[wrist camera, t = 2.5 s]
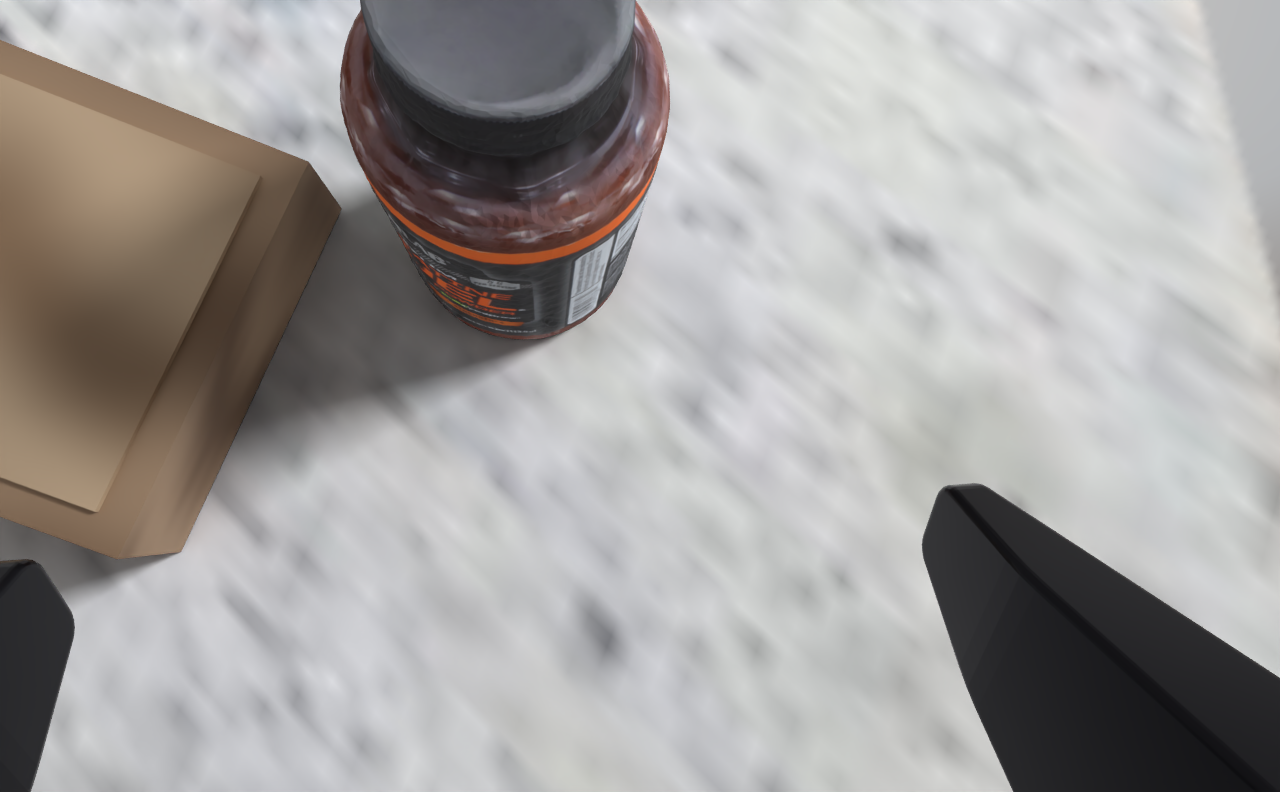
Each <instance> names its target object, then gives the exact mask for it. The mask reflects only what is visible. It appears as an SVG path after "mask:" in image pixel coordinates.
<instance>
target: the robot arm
mask: <svg viewBox="0 0 1280 792" xmlns="http://www.w3.org/2000/svg"><path fill="white" fill-rule="evenodd" d="M922 552H923V558H924V561H925V564H926V567H927V570H928V574H929V577H930V580H931V583H932V586H933V589H934V592H935V595H936V598H937V601H938V604H939V607H940V610H941V613H942V616H943V619H944V622H945V625H946V628H947V631H948V634H949V637H950V640H951V643H952V646H953V649H954V652H955V656H956V659H957V662H958V665H959V668H960V670H961V673H962V676H963V679H964V681H965V684H966V687H967V689H968V692H969V694H970V696H971V699H972V701H973V704H974V706H975V708H976V711H977V713H978V715H979V717H980V719H981V722H982V724H983V726H984V728H985V730H986V733H987V735H988V737H989V739H990V741H991V744H992V746H993V748H994V750H995V753H996V755H997V757H998V759H999V761H1000V764H1001V766H1002V768H1003V770H1004V772H1005V775H1006V777H1007V779H1008V781H1009V783H1010V786H1011V788H1012V790H1013V792H1280V678H1279V677H1278V676H1276V675H1275V674H1273V673H1272V672H1270V671H1269V670H1267V669H1265V668H1264V667H1262V666H1261V665H1259V664H1258V663H1256V662H1255V661H1253V660H1252V659H1250V658H1249V657H1247V656H1246V655H1244V654H1242V653H1241V652H1239V651H1238V650H1236V649H1235V648H1233V647H1232V646H1230V645H1229V644H1227V643H1226V642H1224V641H1223V640H1221V639H1219V638H1218V637H1216V636H1215V635H1213V634H1212V633H1210V632H1209V631H1207V630H1206V629H1204V628H1203V627H1201V626H1200V625H1198V624H1196V623H1195V622H1193V621H1192V620H1190V619H1189V618H1187V617H1186V616H1184V615H1183V614H1181V613H1180V612H1178V611H1177V610H1175V609H1174V608H1172V607H1170V606H1169V605H1167V604H1166V603H1164V602H1163V601H1161V600H1160V599H1158V598H1157V597H1155V596H1154V595H1152V594H1151V593H1149V592H1147V591H1146V590H1144V589H1143V588H1141V587H1140V586H1138V585H1137V584H1135V583H1134V582H1132V581H1131V580H1129V579H1128V578H1126V577H1124V576H1123V575H1121V574H1120V573H1118V572H1117V571H1115V570H1114V569H1112V568H1111V567H1109V566H1108V565H1106V564H1105V563H1103V562H1101V561H1100V560H1098V559H1097V558H1095V557H1094V556H1092V555H1091V554H1089V553H1088V552H1086V551H1085V550H1083V549H1082V548H1080V547H1079V546H1077V545H1075V544H1074V543H1072V542H1071V541H1069V540H1068V539H1066V538H1065V537H1063V536H1062V535H1060V534H1059V533H1057V532H1056V531H1054V530H1052V529H1051V528H1049V527H1048V526H1046V525H1045V524H1043V523H1042V522H1040V521H1039V520H1037V519H1036V518H1034V517H1033V516H1031V515H1029V514H1028V513H1026V512H1025V511H1023V510H1022V509H1020V508H1019V507H1017V506H1016V505H1014V504H1013V503H1011V502H1010V501H1008V500H1006V499H1005V498H1003V497H1002V496H1000V495H999V494H997V493H996V492H994V491H993V490H991V489H990V488H988V487H986V486H984V485H982V484H977V483H972V484H959V485H948V486H945V487H943V488H942V489H941V490H940V491H939V493H938V495H937V497H936V500H935V503H934V506H933V509H932V512H931V515H930V518H929V521H928V524H927V527H926V529H925V532H924V535H923V541H922ZM74 629H75V626H74V619H73V615H72V612H71V610H70V608H69V607H68V605H67V604H66V602H65V601H64V599H63V598H62V596H61V595H60V593H59V591H58V590H57V588H56V587H55V585H54V584H53V582H52V581H51V579H50V578H49V576H48V575H47V573H46V571H45V570H44V568H43V567H42V566H41V565H40V564H38V563H36V562H35V561H33V560H28V559H22V560H10V561H0V792H31V789H32V786H33V783H34V780H35V777H36V773H37V770H38V767H39V763H40V760H41V756H42V752H43V748H44V745H45V741H46V737H47V734H48V730H49V726H50V723H51V719H52V715H53V712H54V708H55V704H56V701H57V697H58V693H59V690H60V686H61V682H62V679H63V675H64V671H65V668H66V664H67V660H68V657H69V653H70V649H71V646H72V642H73V638H74Z"/></svg>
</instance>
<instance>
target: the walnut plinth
mask: <svg viewBox="0 0 1280 792" xmlns="http://www.w3.org/2000/svg"><path fill="white" fill-rule="evenodd" d="M341 209H342V208H341V207H340V206H339V204H338V203H337V201H336V200H335V198H334V197H333V196H332V194H331V193H330V191H329V190H328V188H327V187H326V186H325V184H324V183H323V181H322V180H321V179H320V177H319V176H318V174H317V173H316V171H315V170H314V169H313V167H312V166H311V164H310V163H309V162H308V161H305V160H303V159H300V158H298V157H295V156H293V155H290V154H288V153H285V152H282V151H280V150H277V149H275V148H272V147H270V146H267V145H265V144H262V143H260V142H257V141H255V140H252V139H250V138H247V137H244V136H242V135H239V134H237V133H234V132H232V131H229V130H227V129H224V128H222V127H219V126H217V125H214V124H212V123H209V122H206V121H204V120H201V119H199V118H196V117H194V116H191V115H189V114H186V113H184V112H181V111H179V110H176V109H174V108H171V107H168V106H166V105H163V104H161V103H158V102H156V101H153V100H151V99H148V98H146V97H143V96H141V95H138V94H136V93H133V92H130V91H128V90H125V89H123V88H120V87H118V86H115V85H113V84H110V83H108V82H105V81H103V80H100V79H97V78H95V77H92V76H90V75H87V74H85V73H82V72H80V71H77V70H75V69H72V68H70V67H67V66H65V65H62V64H59V63H57V62H54V61H52V60H49V59H47V58H44V57H42V56H39V55H37V54H34V53H32V52H29V51H27V50H24V49H21V48H19V47H16V46H14V45H11V44H9V43H6V42H4V41H1V40H0V517H2V518H5V519H8V520H10V521H13V522H16V523H19V524H21V525H24V526H27V527H30V528H32V529H35V530H38V531H41V532H43V533H46V534H49V535H52V536H54V537H57V538H60V539H63V540H65V541H68V542H71V543H74V544H76V545H79V546H82V547H85V548H87V549H90V550H93V551H96V552H98V553H101V554H104V555H107V556H109V557H112V558H115V559H124V558H133V557H141V556H150V555H159V554H168V553H176V552H181V551H182V549H183V546H184V544H185V542H186V540H187V538H188V536H189V534H190V532H191V529H192V527H193V525H194V523H195V521H196V519H197V517H198V514H199V512H200V510H201V508H202V506H203V504H204V502H205V500H206V497H207V495H208V493H209V491H210V489H211V487H212V485H213V482H214V480H215V478H216V476H217V474H218V472H219V470H220V468H221V465H222V463H223V461H224V459H225V457H226V455H227V453H228V450H229V448H230V446H231V444H232V442H233V440H234V438H235V436H236V433H237V431H238V429H239V427H240V425H241V423H242V421H243V418H244V416H245V414H246V412H247V410H248V408H249V406H250V403H251V401H252V399H253V397H254V395H255V393H256V391H257V389H258V386H259V384H260V382H261V380H262V378H263V376H264V374H265V371H266V369H267V367H268V365H269V363H270V361H271V359H272V357H273V354H274V352H275V350H276V348H277V346H278V344H279V342H280V339H281V337H282V335H283V333H284V331H285V329H286V327H287V325H288V322H289V320H290V318H291V316H292V314H293V312H294V310H295V307H296V305H297V303H298V301H299V299H300V297H301V295H302V293H303V290H304V288H305V286H306V284H307V282H308V280H309V278H310V275H311V273H312V271H313V269H314V267H315V265H316V263H317V261H318V258H319V256H320V254H321V252H322V250H323V248H324V246H325V243H326V241H327V239H328V237H329V235H330V233H331V231H332V229H333V226H334V224H335V222H336V220H337V218H338V216H339V214H340V211H341Z"/></svg>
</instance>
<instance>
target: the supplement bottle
mask: <svg viewBox="0 0 1280 792" xmlns="http://www.w3.org/2000/svg"><path fill="white" fill-rule="evenodd" d="M360 3H361V11H360V13H359V14H358V16H357V17H356V19H355V21H354V23H353V26H352V28H351V30H350V32H349V35H348V38H347V41H346V45H345V49H344V55H343V60H342V67H341V74H340V77H341V81H340V102H341V108H342V114H343V117H344V123H345V126H346V128H347V132H348V135H349V138H350V142H351V145H352V147H353V150H354V153H355V155H356V157H357V159H358V162H359V164H360V166H361V167H362V169H363V171H364V173H365V175H366V178H367V180H368V181H369V183H370V185H371V187H372V190H373V192H374V193H375V194H376V196H377V198H378V199H379V202H380V203H381V205H382V207H383V208H384V210H385V212H386V213H387V215H388V217H389V219H390V221H391V223H392V225H393V226H394V228H395V230H396V232H397V234H398V235H399V237H400V238H401V240H402V242H403V244H404V246H405V248H406V250H407V251H408V253H409V255H410V258H411V260H412V262H413V263H414V265H415V266H416V268H417V270H418V272H419V274H420V276H421V277H422V279H423V280H424V282H425V284H426V285H427V287H428V288H429V289H430V291H431V292H432V293H433V295H434V296H435V297H436V298H437V299H438V300H439V301H440V303H442V304H443V306H444V307H445V308H446V309H447V310H448V311H449V312H451V313H452V314H453V315H454V316H456V317H457V318H458V319H460V320H461V321H462V322H464V323H465V324H467V325H469V326H471V327H473V328H475V329H478V330H480V331H483V332H485V333H488V334H491V335H494V336H499V337H504V338H511V339H540V338H545V337H549V336H553V335H556V334H560V333H562V332H564V331H566V330H569V329H570V328H572V327H574V326H576V325H578V324H580V323H581V322H583V321H585V320H586V319H587V318H588V317H589V316H591V315H592V314H593V313H595V312H596V311H597V310H598V309H599V308H600V307H601V306H602V305H603V304H604V302H605V301H606V300H607V299H608V297H609V296H610V294H611V293H612V291H613V289H614V288H615V286H616V284H617V282H618V280H619V278H620V276H621V274H622V271H623V269H624V266H625V263H626V261H627V258H628V254H629V252H630V249H631V245H632V242H633V239H634V236H635V233H636V230H637V227H638V223H639V220H640V217H641V214H642V211H643V208H644V204H645V201H646V198H647V195H648V192H649V189H650V186H651V183H652V180H653V177H654V174H655V171H656V168H657V164H658V161H659V157H660V154H661V151H662V147H663V144H664V140H665V136H666V133H667V126H668V118H669V110H670V91H669V75H668V70H667V66H666V62H665V58H664V55H663V51H662V47H661V44H660V42H659V39H658V37H657V34H656V33H655V30H654V28H653V26H652V25H651V23H650V22H649V20H648V18H647V17H646V15H645V14H644V12H643V10H642V9H641V7H640V6H639V5H638V3H637V2H636V0H360Z"/></svg>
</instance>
